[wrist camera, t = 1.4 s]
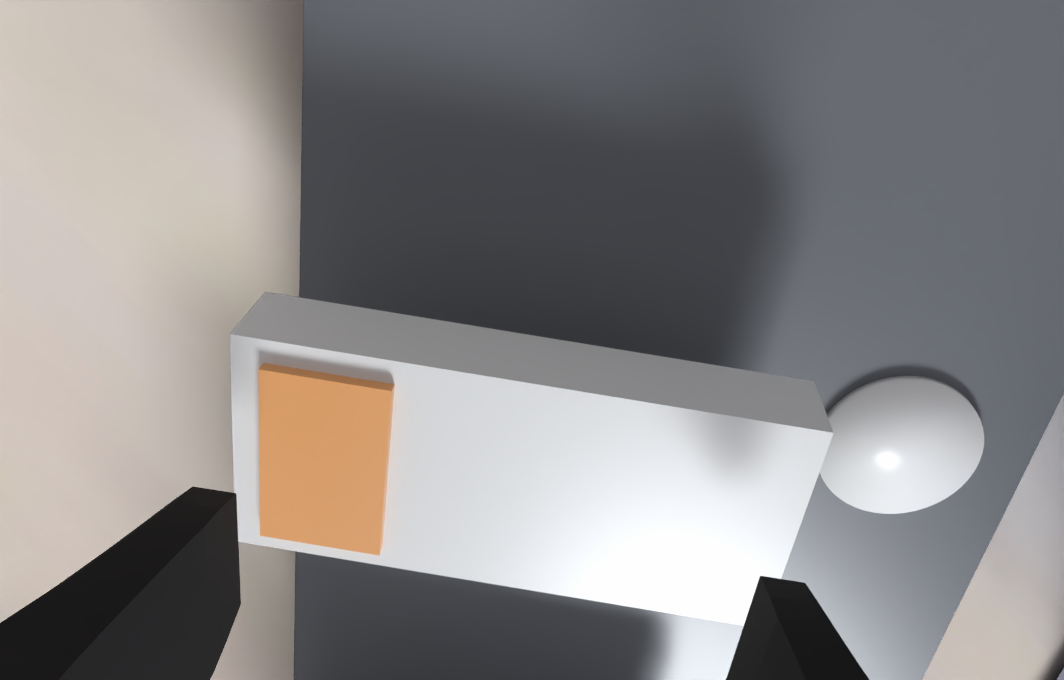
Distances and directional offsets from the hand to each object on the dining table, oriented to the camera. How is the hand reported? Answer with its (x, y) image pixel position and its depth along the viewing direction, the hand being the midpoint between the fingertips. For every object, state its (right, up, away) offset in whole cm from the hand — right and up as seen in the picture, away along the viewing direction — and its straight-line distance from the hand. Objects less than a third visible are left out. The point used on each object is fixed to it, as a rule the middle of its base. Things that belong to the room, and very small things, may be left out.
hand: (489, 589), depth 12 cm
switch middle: (0, +2, +3) cm, 4 cm away
